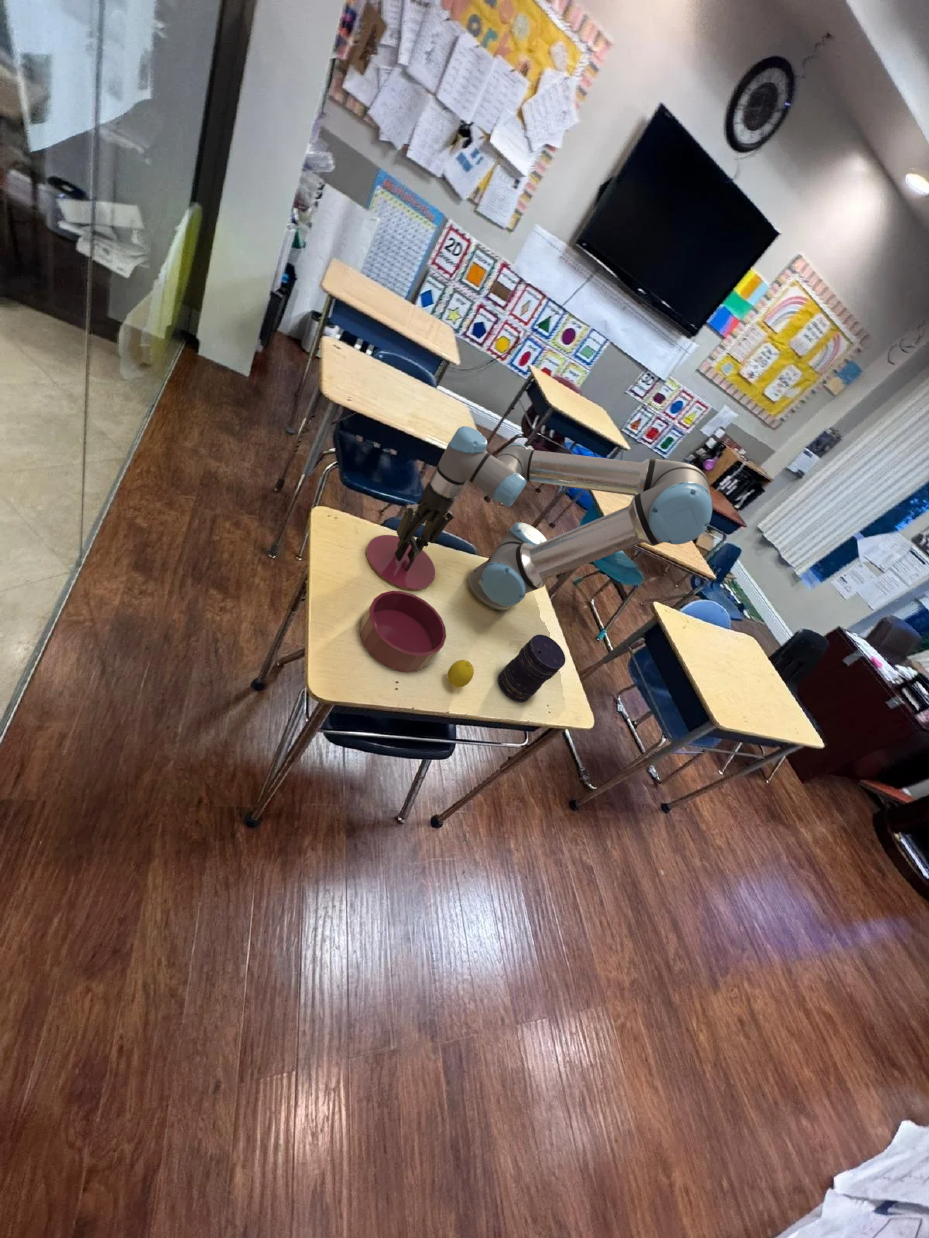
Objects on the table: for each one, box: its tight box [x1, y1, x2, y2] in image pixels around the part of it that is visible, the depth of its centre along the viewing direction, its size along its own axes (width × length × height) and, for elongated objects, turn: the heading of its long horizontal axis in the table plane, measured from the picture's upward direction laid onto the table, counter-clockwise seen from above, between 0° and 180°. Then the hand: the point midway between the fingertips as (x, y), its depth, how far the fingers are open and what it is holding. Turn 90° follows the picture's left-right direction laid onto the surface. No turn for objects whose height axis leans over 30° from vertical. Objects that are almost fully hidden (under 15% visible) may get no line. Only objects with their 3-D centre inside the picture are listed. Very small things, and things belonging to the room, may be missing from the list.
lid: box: [366, 534, 436, 591], centre depth 135 cm, size 20×20×9 cm
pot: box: [359, 590, 447, 673], centre depth 118 cm, size 19×19×6 cm
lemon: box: [446, 659, 475, 688], centre depth 117 cm, size 6×6×8 cm
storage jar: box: [497, 634, 566, 703], centre depth 124 cm, size 10×10×15 cm
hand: (403, 557), depth 137 cm, fingers open, 3 cm apart
